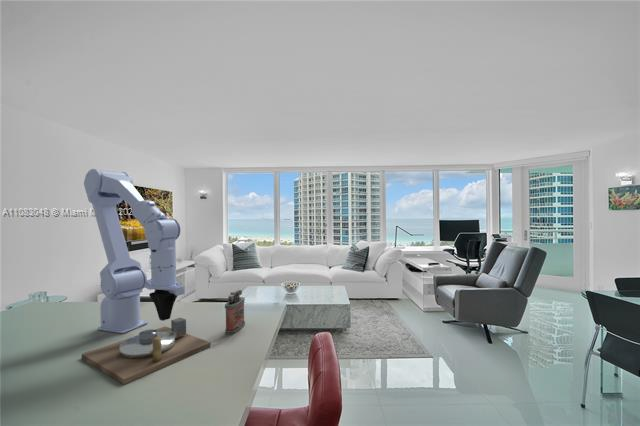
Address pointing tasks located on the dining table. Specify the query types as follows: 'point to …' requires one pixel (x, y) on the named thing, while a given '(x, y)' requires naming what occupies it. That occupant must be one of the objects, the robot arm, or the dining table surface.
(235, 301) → the lighter
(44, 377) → the dining table surface
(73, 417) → the dining table surface
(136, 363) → the walnut board
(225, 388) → the dining table surface
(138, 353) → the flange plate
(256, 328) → the dining table surface
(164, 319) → the robot arm
